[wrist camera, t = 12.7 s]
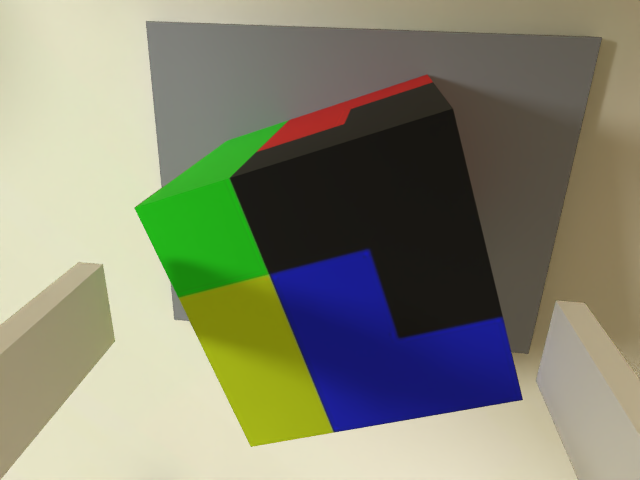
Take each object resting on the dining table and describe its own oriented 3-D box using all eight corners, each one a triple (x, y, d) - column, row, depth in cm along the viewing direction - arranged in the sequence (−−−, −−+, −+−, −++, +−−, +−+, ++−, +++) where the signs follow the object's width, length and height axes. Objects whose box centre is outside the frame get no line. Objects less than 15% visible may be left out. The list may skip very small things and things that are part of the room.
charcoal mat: (179, 312, 30) (174, 319, 30) (153, 21, 24) (145, 21, 23) (524, 345, 28) (528, 353, 28) (594, 37, 22) (601, 37, 21)
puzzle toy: (475, 268, 26) (522, 399, 17) (295, 310, 28) (251, 446, 19) (427, 74, 23) (452, 108, 14) (227, 140, 25) (134, 207, 16)
